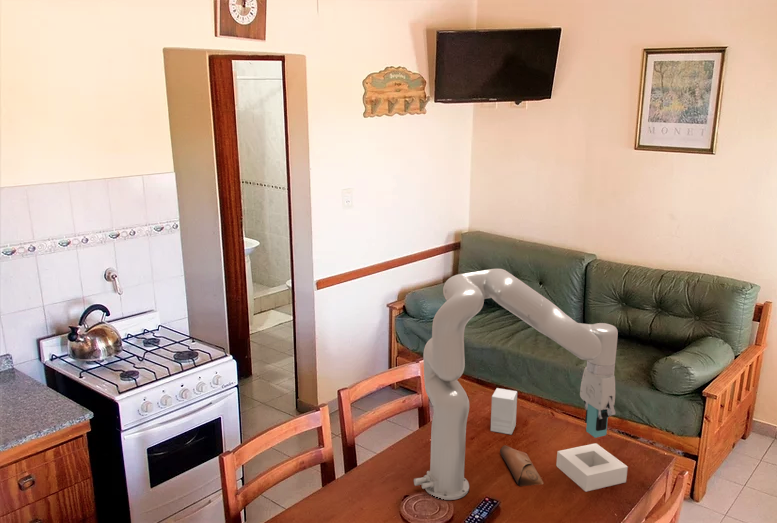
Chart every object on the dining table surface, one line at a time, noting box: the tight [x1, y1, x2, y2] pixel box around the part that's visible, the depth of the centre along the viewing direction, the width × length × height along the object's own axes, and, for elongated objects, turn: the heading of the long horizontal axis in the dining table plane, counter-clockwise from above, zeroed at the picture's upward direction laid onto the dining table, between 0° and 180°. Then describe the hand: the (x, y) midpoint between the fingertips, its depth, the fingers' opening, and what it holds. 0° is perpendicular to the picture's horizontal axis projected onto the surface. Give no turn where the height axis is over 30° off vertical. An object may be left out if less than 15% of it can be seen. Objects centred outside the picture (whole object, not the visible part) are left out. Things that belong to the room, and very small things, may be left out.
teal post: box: [585, 404, 609, 439], centre depth 184 cm, size 4×4×9 cm
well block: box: [556, 442, 629, 492], centre depth 188 cm, size 14×14×5 cm
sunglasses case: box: [499, 444, 544, 487], centre depth 190 cm, size 18×7×7 cm, turn 7°
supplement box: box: [490, 387, 518, 436], centre depth 213 cm, size 7×7×13 cm
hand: (595, 425), depth 185 cm, fingers closed on teal post, 4 cm apart
